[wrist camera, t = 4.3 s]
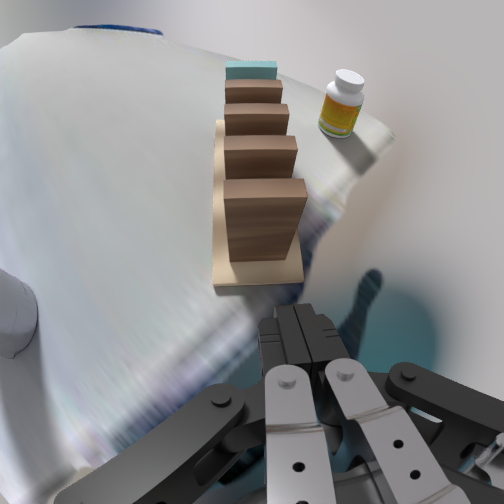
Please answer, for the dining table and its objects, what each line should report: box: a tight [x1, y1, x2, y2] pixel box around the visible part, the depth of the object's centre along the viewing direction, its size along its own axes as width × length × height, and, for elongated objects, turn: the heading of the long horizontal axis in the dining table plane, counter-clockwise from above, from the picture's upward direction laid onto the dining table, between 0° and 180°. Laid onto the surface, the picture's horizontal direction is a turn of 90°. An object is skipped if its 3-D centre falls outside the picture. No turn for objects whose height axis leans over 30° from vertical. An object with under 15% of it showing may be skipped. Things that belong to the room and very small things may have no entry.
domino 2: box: [225, 79, 283, 104], centre depth 29 cm, size 2×6×11 cm, turn 93°
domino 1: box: [226, 61, 277, 80], centre depth 31 cm, size 2×6×11 cm, turn 93°
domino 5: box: [223, 179, 307, 262], centre depth 24 cm, size 2×6×11 cm, turn 93°
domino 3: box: [224, 103, 289, 136], centre depth 28 cm, size 2×6×11 cm, turn 93°
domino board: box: [213, 120, 304, 286], centre depth 33 cm, size 24×9×1 cm, turn 3°
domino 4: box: [224, 135, 298, 180], centre depth 26 cm, size 2×6×11 cm, turn 93°
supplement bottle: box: [318, 69, 364, 138], centre depth 34 cm, size 5×5×10 cm
